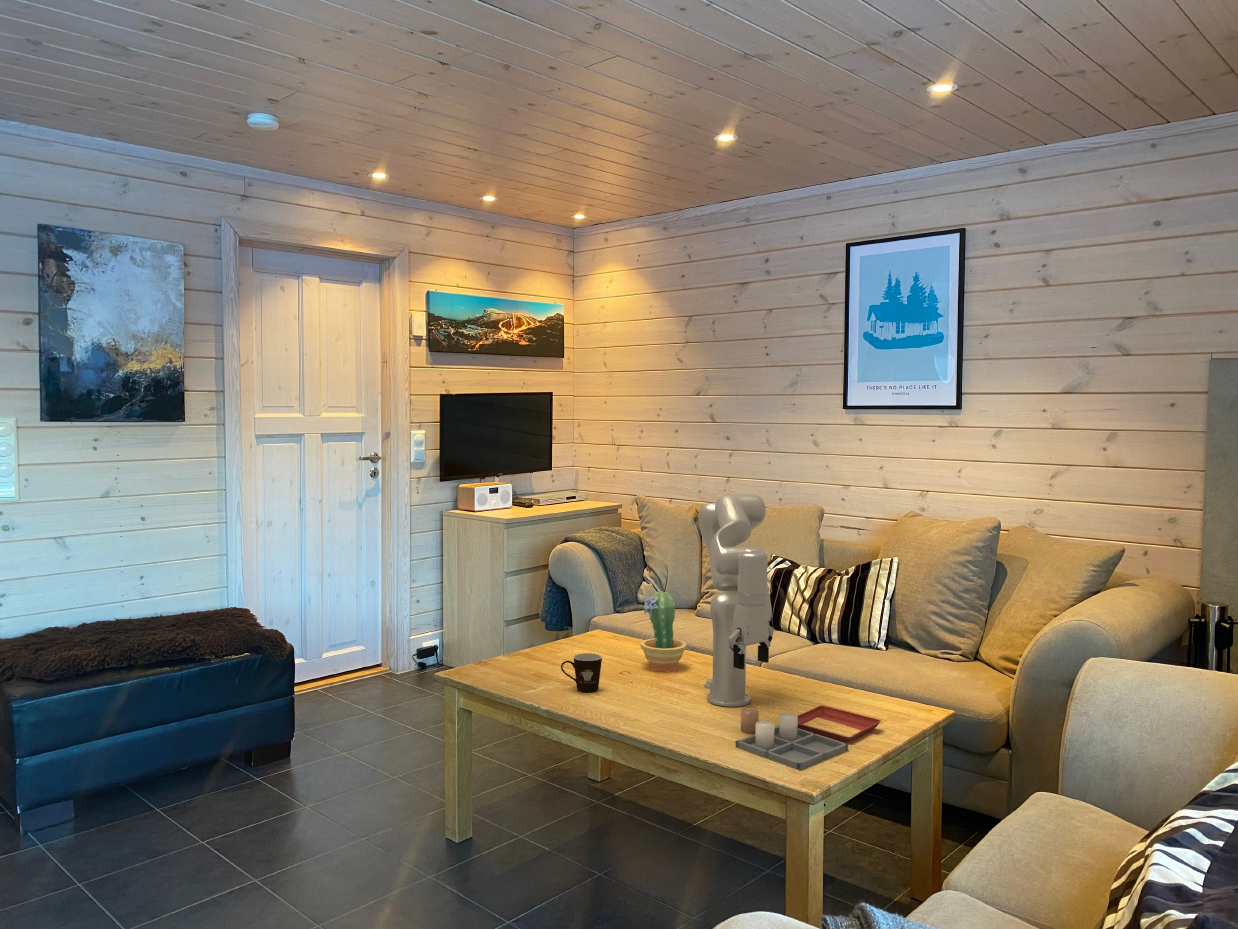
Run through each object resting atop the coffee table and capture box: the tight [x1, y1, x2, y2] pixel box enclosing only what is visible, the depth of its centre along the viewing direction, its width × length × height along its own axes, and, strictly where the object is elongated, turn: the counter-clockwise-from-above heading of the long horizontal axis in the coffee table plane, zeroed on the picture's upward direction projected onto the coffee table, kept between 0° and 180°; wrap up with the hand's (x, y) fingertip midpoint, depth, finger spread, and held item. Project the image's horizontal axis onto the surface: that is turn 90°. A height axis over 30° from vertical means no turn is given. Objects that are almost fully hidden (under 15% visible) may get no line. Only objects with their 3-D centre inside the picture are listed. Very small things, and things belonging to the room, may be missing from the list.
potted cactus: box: [639, 590, 688, 673], centre depth 299 cm, size 15×15×25 cm
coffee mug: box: [560, 652, 603, 694], centre depth 275 cm, size 12×9×10 cm
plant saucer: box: [797, 705, 882, 744], centre depth 241 cm, size 18×18×3 cm
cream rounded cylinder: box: [778, 712, 798, 742], centre depth 231 cm, size 5×5×6 cm
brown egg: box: [740, 708, 760, 735], centre depth 237 cm, size 5×5×6 cm
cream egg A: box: [755, 720, 776, 751], centre depth 225 cm, size 5×5×6 cm
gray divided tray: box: [735, 725, 849, 771], centre depth 225 cm, size 19×19×2 cm
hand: (751, 665), depth 237 cm, fingers open, 9 cm apart
